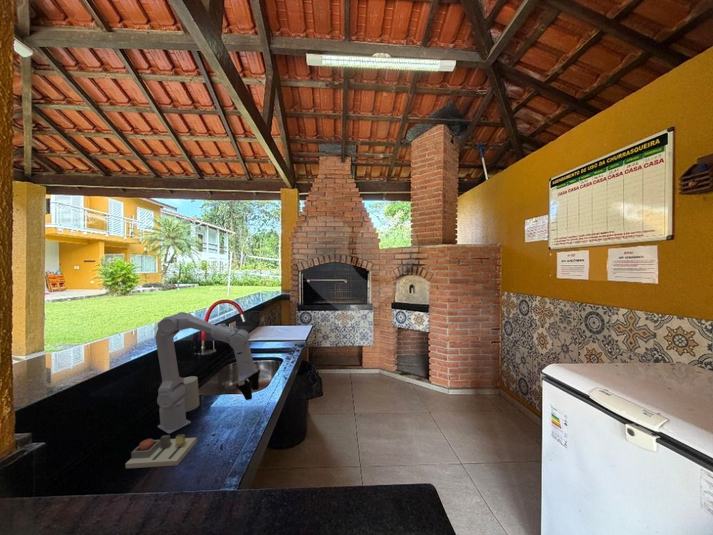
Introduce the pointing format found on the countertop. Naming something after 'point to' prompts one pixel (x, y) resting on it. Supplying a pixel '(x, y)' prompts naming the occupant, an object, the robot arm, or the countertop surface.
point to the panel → (160, 454)
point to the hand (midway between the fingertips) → (252, 394)
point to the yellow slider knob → (180, 440)
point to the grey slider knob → (165, 441)
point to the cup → (191, 393)
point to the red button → (146, 444)
